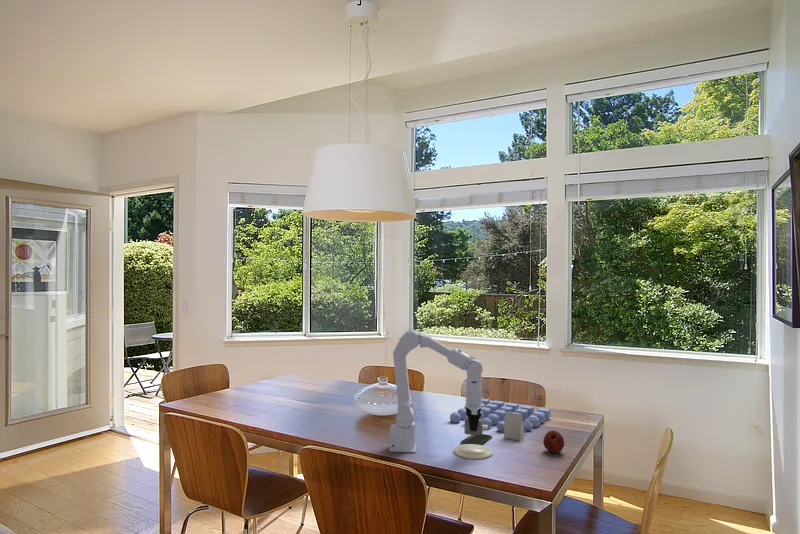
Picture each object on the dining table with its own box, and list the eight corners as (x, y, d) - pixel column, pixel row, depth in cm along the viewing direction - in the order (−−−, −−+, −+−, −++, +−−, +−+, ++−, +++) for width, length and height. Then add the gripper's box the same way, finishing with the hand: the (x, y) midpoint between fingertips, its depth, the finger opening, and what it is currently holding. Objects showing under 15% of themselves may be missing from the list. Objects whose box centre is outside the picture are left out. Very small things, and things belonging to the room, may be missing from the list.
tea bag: (520, 440, 204) (521, 415, 204) (504, 437, 207) (504, 412, 207) (523, 438, 207) (523, 413, 207) (506, 435, 210) (507, 410, 211)
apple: (540, 452, 190) (540, 431, 190) (547, 447, 196) (547, 426, 196) (560, 457, 186) (560, 434, 186) (566, 451, 192) (566, 429, 192)
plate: (453, 458, 183) (453, 454, 183) (453, 445, 197) (453, 442, 197) (493, 460, 181) (493, 456, 181) (490, 447, 195) (490, 444, 195)
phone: (459, 442, 198) (475, 432, 211) (459, 445, 198) (475, 435, 211) (478, 445, 194) (493, 435, 207) (478, 448, 194) (493, 438, 207)
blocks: (550, 419, 237) (550, 409, 237) (523, 438, 208) (524, 426, 209) (481, 407, 257) (481, 398, 257) (447, 423, 228) (447, 412, 228)
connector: (464, 434, 188) (464, 420, 188) (464, 431, 191) (464, 418, 191) (487, 435, 187) (488, 421, 187) (487, 432, 190) (487, 419, 190)
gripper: (486, 397, 182) (485, 435, 181) (483, 388, 196) (483, 424, 196) (465, 396, 182) (465, 435, 182) (464, 387, 197) (464, 423, 197)
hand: (473, 429), depth 189 cm, fingers closed on connector, 3 cm apart
